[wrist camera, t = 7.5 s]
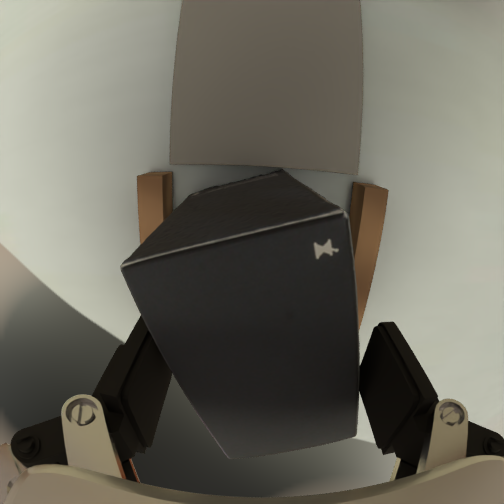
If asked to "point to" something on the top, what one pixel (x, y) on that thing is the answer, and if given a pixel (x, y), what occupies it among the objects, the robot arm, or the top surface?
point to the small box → (256, 313)
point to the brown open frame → (361, 219)
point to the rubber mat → (268, 84)
